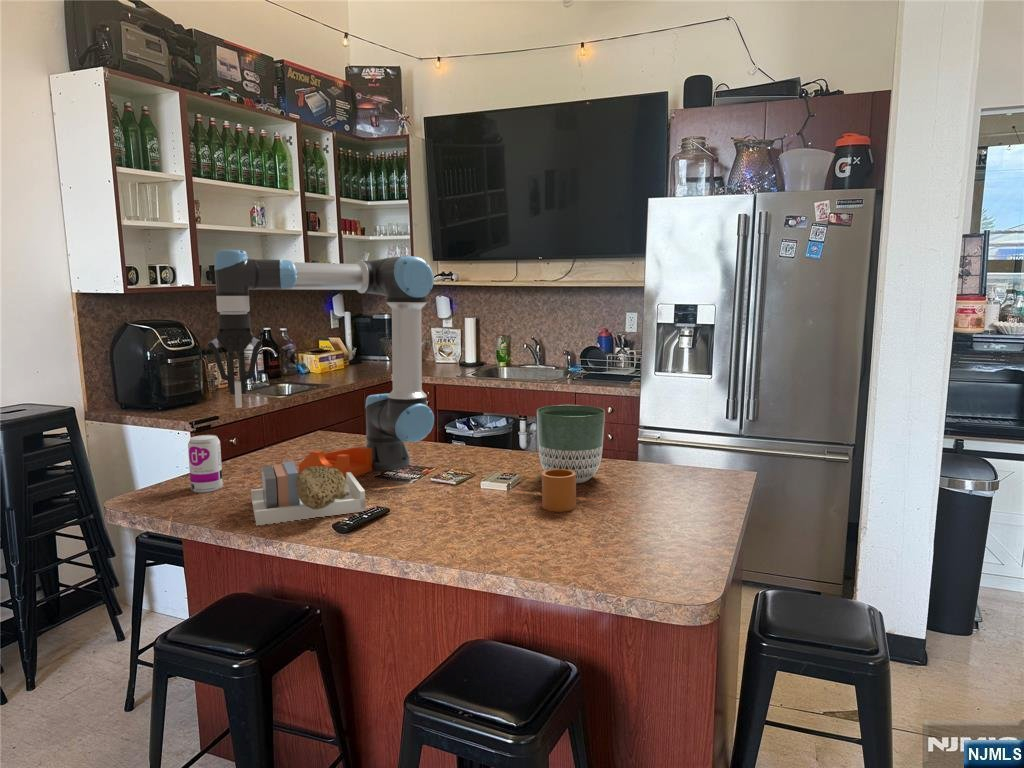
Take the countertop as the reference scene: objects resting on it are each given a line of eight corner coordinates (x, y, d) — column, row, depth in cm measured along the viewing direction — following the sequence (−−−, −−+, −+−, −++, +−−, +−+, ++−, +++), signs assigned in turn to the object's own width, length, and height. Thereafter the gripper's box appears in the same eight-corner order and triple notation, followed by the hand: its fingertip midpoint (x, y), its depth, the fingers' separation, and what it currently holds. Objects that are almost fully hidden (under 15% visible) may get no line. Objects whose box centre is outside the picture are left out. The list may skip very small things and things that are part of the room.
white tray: (351, 491, 193) (350, 472, 192) (365, 512, 174) (364, 490, 174) (251, 502, 182) (250, 482, 182) (256, 525, 164) (255, 503, 163)
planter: (526, 488, 195) (527, 413, 192) (549, 471, 213) (549, 403, 210) (593, 495, 188) (594, 418, 185) (611, 477, 206) (612, 407, 203)
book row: (294, 497, 183) (292, 461, 182) (300, 512, 171) (298, 472, 170) (274, 500, 181) (272, 462, 180) (279, 514, 169) (277, 474, 168)
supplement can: (211, 494, 190) (207, 441, 188) (184, 492, 191) (181, 439, 189) (228, 486, 198) (225, 435, 196) (203, 484, 199) (199, 433, 197)
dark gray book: (273, 497, 181) (271, 465, 180) (277, 512, 169) (276, 478, 168) (263, 498, 180) (261, 466, 179) (266, 513, 168) (265, 479, 167)
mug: (585, 501, 183) (585, 468, 182) (568, 514, 173) (569, 479, 171) (554, 496, 187) (554, 464, 186) (536, 509, 177) (536, 475, 175)
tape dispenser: (372, 474, 212) (372, 447, 211) (344, 484, 201) (343, 456, 200) (328, 467, 220) (327, 442, 219) (299, 476, 209) (298, 450, 208)
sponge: (314, 480, 183) (276, 469, 164) (338, 462, 183) (303, 449, 164) (339, 521, 178) (302, 514, 160) (363, 502, 178) (329, 494, 160)
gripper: (260, 312, 177) (265, 403, 180) (205, 313, 172) (210, 406, 175) (262, 313, 170) (267, 407, 174) (204, 314, 165) (210, 411, 168)
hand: (238, 406), depth 174 cm, fingers closed
